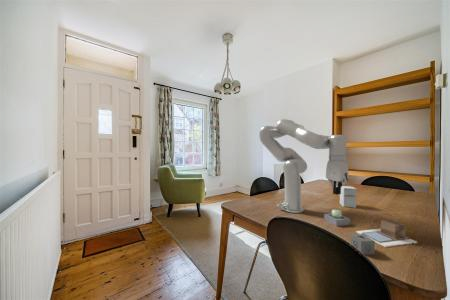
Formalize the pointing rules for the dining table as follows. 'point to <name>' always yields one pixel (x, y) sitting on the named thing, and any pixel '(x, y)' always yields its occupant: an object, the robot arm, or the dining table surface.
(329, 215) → the button housing
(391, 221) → the walnut block
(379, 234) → the picture card
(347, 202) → the supplement box
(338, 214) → the button
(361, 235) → the dice cube
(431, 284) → the dining table surface
